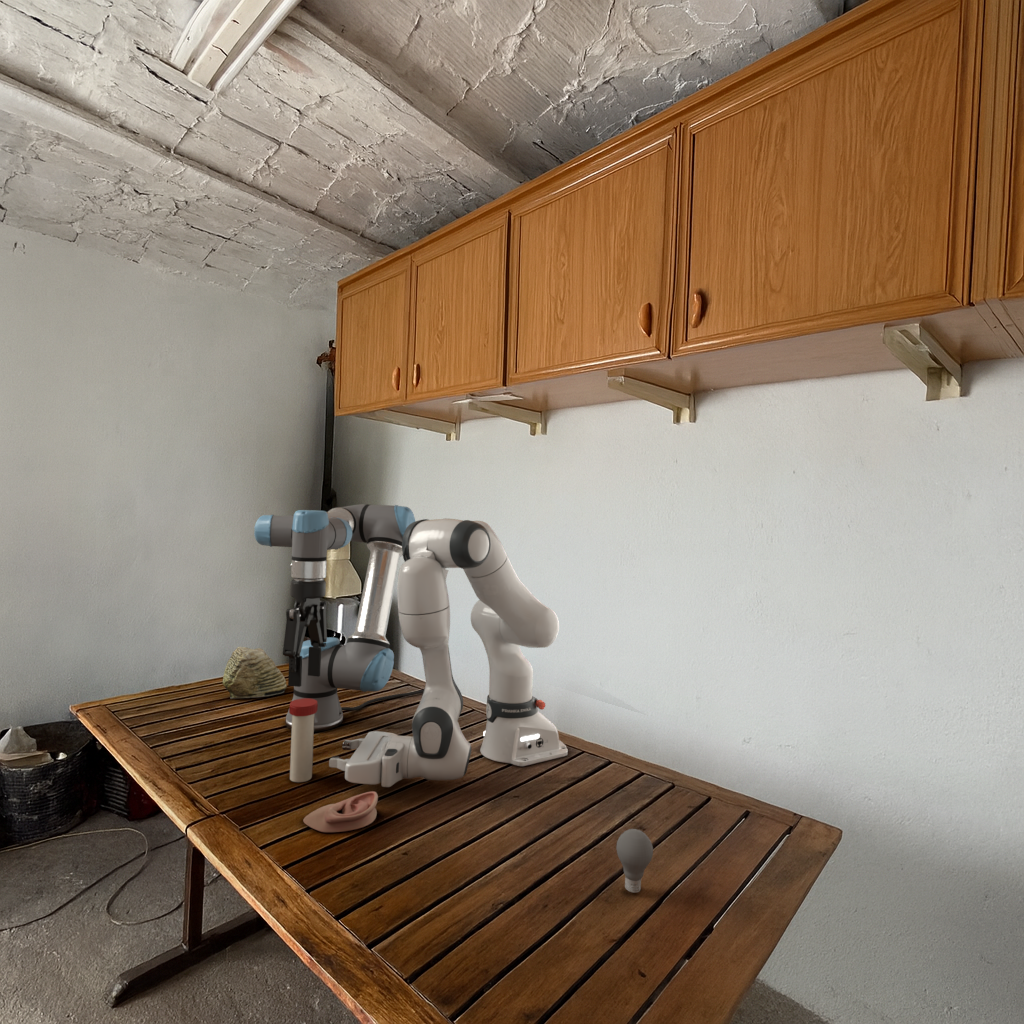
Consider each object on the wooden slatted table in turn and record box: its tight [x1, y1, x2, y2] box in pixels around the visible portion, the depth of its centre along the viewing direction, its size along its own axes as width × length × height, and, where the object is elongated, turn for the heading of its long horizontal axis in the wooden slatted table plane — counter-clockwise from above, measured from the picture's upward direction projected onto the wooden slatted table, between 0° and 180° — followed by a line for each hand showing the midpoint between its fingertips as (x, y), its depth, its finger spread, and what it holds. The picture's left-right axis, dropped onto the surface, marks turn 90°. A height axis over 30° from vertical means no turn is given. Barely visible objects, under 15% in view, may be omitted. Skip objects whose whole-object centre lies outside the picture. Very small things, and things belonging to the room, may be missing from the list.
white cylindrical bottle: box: [289, 714, 315, 783], centre depth 142 cm, size 5×5×17 cm
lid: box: [288, 698, 318, 716], centre depth 142 cm, size 6×6×2 cm
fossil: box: [222, 646, 288, 699], centre depth 198 cm, size 9×18×15 cm, turn 132°
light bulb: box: [615, 828, 654, 894], centre depth 106 cm, size 6×6×10 cm
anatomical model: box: [302, 791, 379, 833], centre depth 125 cm, size 13×4×12 cm
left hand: (304, 680), depth 142 cm, fingers open, 8 cm apart
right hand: (336, 753), depth 142 cm, fingers open, 8 cm apart
